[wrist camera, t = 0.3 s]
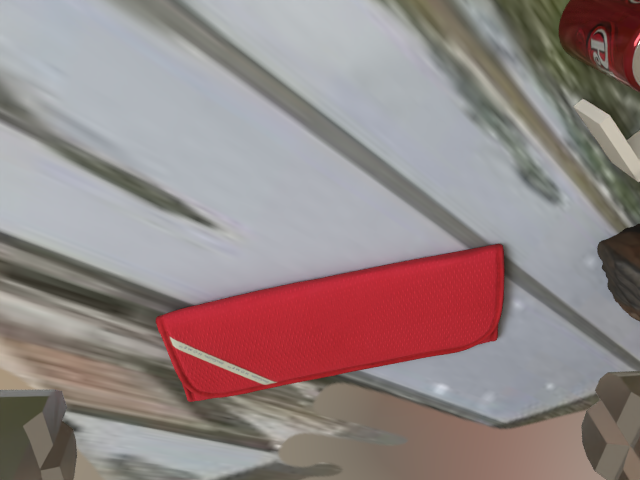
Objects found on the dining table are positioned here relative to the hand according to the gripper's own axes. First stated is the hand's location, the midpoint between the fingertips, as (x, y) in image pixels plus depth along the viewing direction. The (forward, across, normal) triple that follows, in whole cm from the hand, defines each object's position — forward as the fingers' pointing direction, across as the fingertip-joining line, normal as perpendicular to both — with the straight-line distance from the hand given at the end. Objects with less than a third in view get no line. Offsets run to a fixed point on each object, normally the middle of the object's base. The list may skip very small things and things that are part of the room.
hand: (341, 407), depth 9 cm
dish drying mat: (+49, -7, +39) cm, 63 cm away
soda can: (+49, -30, +3) cm, 58 cm away
